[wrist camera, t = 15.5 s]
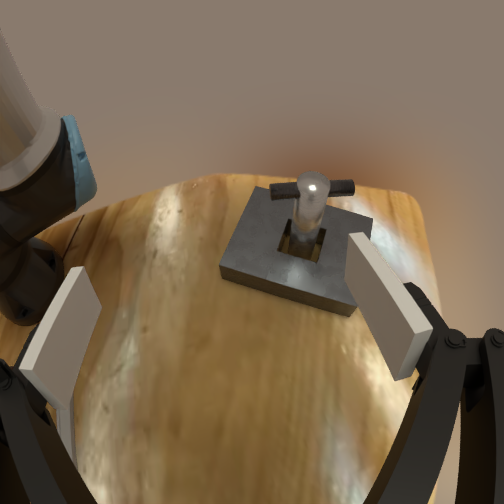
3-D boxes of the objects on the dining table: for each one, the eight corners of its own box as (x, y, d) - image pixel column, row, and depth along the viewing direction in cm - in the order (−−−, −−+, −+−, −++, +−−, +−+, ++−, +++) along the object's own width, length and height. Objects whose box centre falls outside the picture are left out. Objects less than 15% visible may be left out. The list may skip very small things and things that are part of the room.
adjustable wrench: (61, 377, 35) (54, 375, 34) (97, 382, 35) (91, 380, 34) (66, 528, 22) (60, 530, 21) (103, 541, 22) (98, 544, 21)
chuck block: (222, 278, 42) (218, 264, 39) (256, 203, 49) (255, 186, 45) (349, 317, 39) (357, 306, 35) (365, 234, 45) (373, 218, 42)
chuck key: (269, 269, 43) (272, 198, 30) (266, 248, 45) (268, 173, 32) (332, 263, 43) (358, 193, 30) (327, 242, 45) (349, 170, 32)
